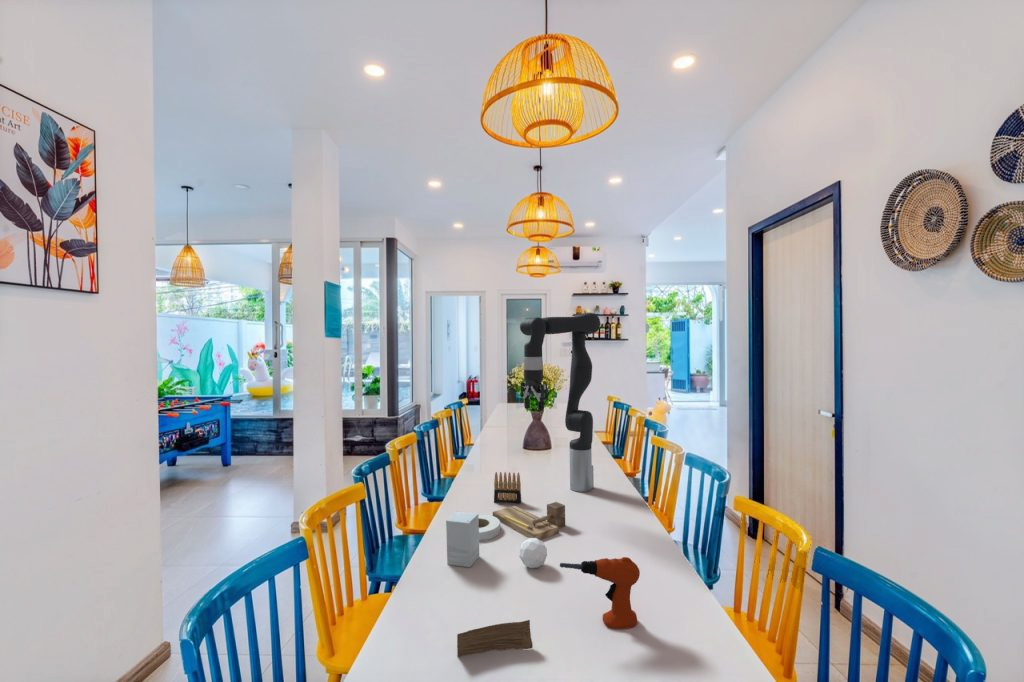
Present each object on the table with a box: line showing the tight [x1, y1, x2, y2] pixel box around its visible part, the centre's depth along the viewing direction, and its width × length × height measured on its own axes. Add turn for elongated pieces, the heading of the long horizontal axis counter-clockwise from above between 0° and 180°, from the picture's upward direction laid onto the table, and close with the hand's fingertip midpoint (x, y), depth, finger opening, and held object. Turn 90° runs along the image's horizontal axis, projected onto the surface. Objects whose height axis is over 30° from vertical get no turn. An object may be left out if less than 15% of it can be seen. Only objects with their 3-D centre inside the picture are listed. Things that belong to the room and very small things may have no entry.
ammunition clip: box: [493, 471, 522, 505], centre depth 177 cm, size 11×2×12 cm, turn 82°
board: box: [492, 505, 559, 540], centre depth 155 cm, size 10×24×2 cm, turn 36°
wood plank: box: [456, 619, 534, 658], centre depth 92 cm, size 15×2×5 cm, turn 104°
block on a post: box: [532, 501, 566, 529], centre depth 152 cm, size 12×4×7 cm, turn 126°
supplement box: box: [445, 511, 480, 568], centre depth 131 cm, size 7×7×13 cm
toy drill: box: [559, 556, 641, 630], centre depth 101 cm, size 5×19×15 cm, turn 93°
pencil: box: [504, 515, 533, 530], centre depth 152 cm, size 1×14×1 cm, turn 41°
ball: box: [519, 538, 548, 569], centre depth 127 cm, size 8×8×8 cm
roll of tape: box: [477, 513, 501, 541], centre depth 151 cm, size 16×15×3 cm
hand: (533, 409), depth 177 cm, fingers open, 8 cm apart
